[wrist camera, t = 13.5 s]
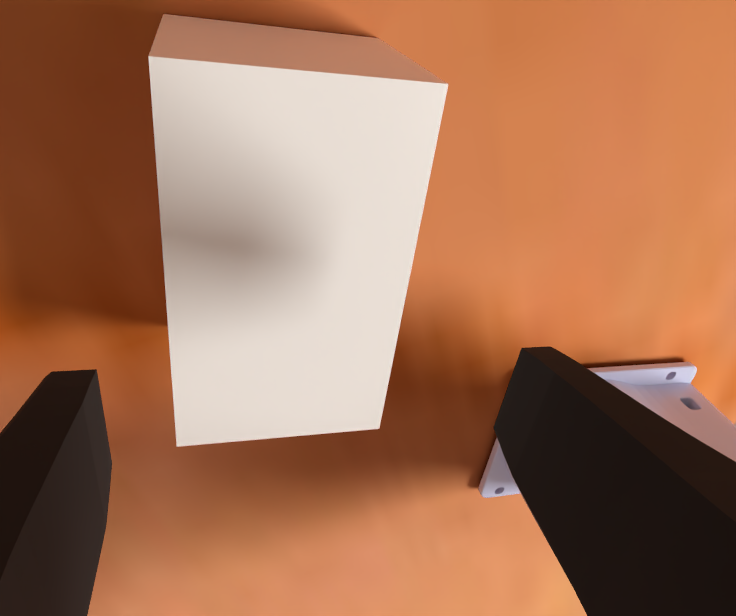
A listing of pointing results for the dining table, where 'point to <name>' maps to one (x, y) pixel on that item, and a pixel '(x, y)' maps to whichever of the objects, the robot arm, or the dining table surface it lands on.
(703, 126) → the dining table surface
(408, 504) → the dining table surface
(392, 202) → the cream rectangular prism
